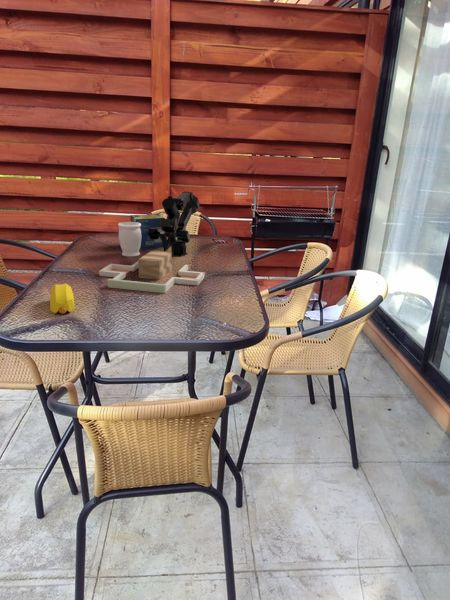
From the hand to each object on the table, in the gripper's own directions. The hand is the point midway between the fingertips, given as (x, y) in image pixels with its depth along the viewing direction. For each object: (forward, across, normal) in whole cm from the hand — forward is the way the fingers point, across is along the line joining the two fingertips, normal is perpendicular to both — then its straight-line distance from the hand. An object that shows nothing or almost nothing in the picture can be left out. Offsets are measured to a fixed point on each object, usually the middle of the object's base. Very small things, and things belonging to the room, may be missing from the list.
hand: (164, 251), depth 198 cm
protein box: (-17, -20, +27) cm, 37 cm away
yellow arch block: (+44, -18, -34) cm, 58 cm away
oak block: (+13, 0, -3) cm, 13 cm away
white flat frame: (+17, 0, -7) cm, 19 cm away
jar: (-4, -22, +14) cm, 26 cm away
